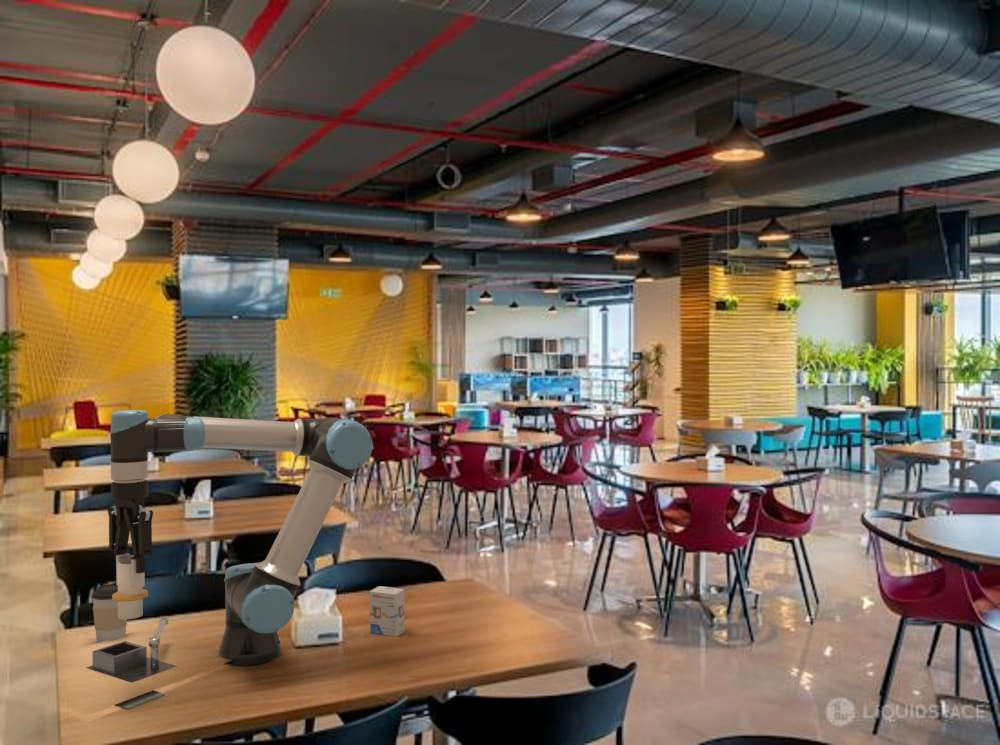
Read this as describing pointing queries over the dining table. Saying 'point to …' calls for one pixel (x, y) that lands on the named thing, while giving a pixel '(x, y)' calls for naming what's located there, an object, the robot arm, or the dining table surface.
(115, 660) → the grey open box fixture
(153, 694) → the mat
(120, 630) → the coffee cup
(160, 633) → the grey metal lever
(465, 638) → the dining table surface
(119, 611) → the plug
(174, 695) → the dining table surface
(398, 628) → the ink box
